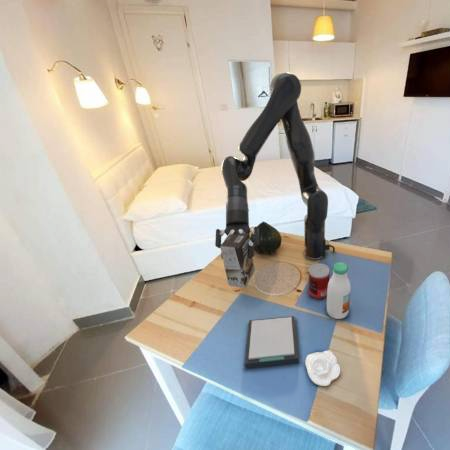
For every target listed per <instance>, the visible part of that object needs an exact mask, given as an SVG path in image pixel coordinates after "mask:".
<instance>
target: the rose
mask: <svg viewBox="0 0 450 450" xmlns="http://www.w3.org/2000/svg"><path fill="white" fill-rule="evenodd" d="M304 364H305V368H306V372H307V375H308V377H309V379H310V381H311V382H312V383H313V384H315V385H317V386H320V387H328V386H329V385H331V383H332V381H334V380H336V379H337V378H339V377H340V374H341V366H340V365H339V363H338V359H337V357H336V355H335V354H334V353H333V351H331V350H323V351H317V352H313V353H309V354H308V355H307V356H306V357H305V361H304Z"/></svg>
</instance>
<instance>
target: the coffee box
mask: <svg viewBox="0 0 450 450" xmlns="http://www.w3.org/2000/svg"><path fill="white" fill-rule="evenodd" d="M250 233H251V232H250ZM250 233H245V232H244V233H243V234H240V233H235V234H233V235H229V236H228V237H227V236H226V237H227V239H226V238H225V239H226V240H225V239H224V240H225V241H223V242H221V245H220V247H221V248H220V253H221V252H222V257H223V259H222V261H223V265H224V266H223V267H224V271H225V274H226V275H225V276H226V280H227V285H228V286H229V287H236V288H242V289H246V287H247V286H248V284H249V282H250V280H251V279H252V277H253V275H254V274H255V272H256V269H255V260H254V257H252V259H250V258H249V247H250V245H249V244H248V242H249V239H250V237H251V234H250ZM248 238H249V239H248ZM222 257H221V258H222Z"/></svg>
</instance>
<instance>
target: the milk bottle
mask: <svg viewBox="0 0 450 450" xmlns="http://www.w3.org/2000/svg"><path fill="white" fill-rule="evenodd" d="M332 266H333V267H332V276H331V277H330V279H329V283H328V289H327V296H326V312H327V315H328V316H329V317H330V318H332V319H335V320H342V319H345V318H346V317H347V316H348V315H349V311H350V301H351V289H352V288H351V287H352V286H351V282H350V280H349V278H348V272H349V271H348V270H349V268H348V265H347V264H346V263H344V262H341V261H340V262H339V261H338V262H335V263H334V264H333V265H332Z"/></svg>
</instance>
